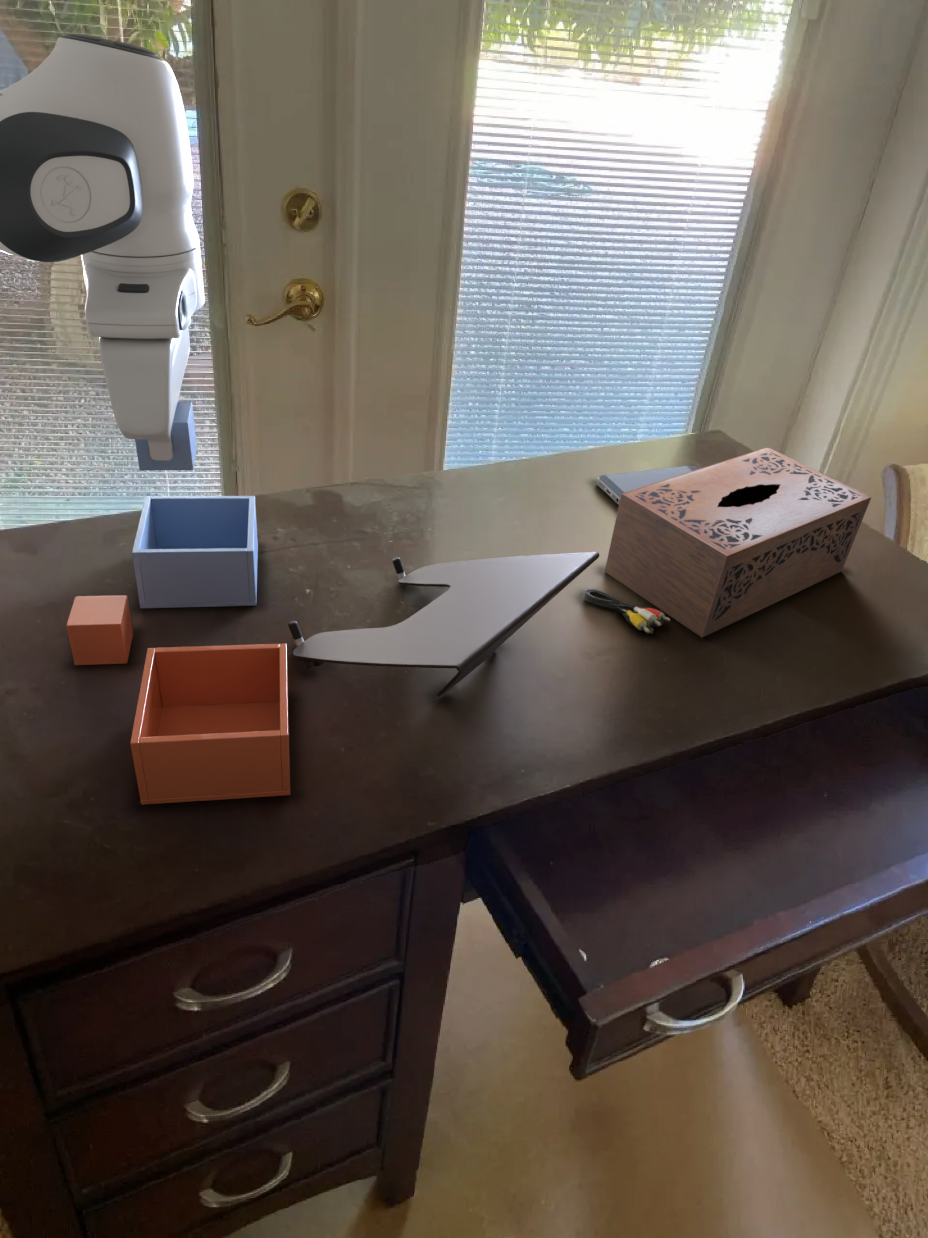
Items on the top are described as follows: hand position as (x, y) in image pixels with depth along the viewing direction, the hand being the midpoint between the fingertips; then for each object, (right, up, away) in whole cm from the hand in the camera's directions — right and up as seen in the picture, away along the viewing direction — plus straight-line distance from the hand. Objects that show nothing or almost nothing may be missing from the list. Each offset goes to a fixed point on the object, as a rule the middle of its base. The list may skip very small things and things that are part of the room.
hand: (166, 442), depth 78 cm
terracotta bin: (+6, -26, -5) cm, 27 cm away
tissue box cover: (+57, -10, +26) cm, 63 cm away
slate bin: (-1, -11, +15) cm, 19 cm away
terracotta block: (-7, -18, +4) cm, 20 cm away
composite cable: (+43, -15, +16) cm, 49 cm away
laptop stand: (+23, -19, +8) cm, 31 cm away
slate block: (0, -1, +1) cm, 2 cm away
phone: (+52, +2, +41) cm, 67 cm away
